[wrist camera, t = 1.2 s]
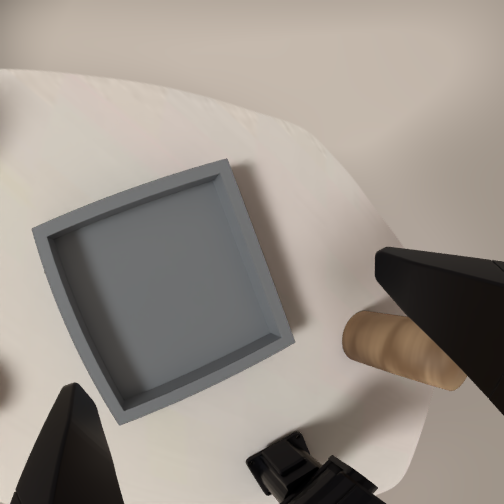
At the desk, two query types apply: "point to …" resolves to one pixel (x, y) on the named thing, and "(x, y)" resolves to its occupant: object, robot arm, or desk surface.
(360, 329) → the wooden cylinder
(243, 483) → the desk surface
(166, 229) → the tray
